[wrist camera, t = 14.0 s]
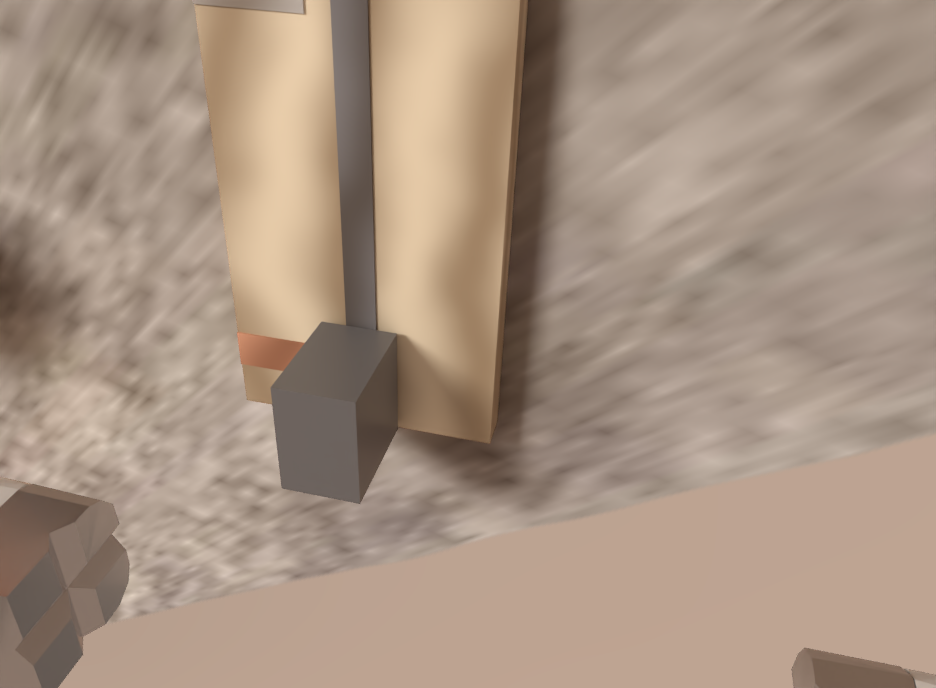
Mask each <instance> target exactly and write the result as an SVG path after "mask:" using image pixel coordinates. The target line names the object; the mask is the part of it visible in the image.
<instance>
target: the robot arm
mask: <svg viewBox="0 0 936 688" xmlns="http://www.w3.org/2000/svg"><path fill="white" fill-rule="evenodd" d="M118 525H119V521H118V518H117V515H116V512H115V509H114V506H113V504H111V503H108V502H104V501H101V500H97V499H93V498H89V497H85V496H81V495H76V494H72V493H68V492H64V491H60V490H56V489H52V488H47V487H43V486H39V485H35V484H30V483H25V482H21V481H16V480H12V479H8V478H3V477H0V688H58V687H59V686H60V684H61V683H62V682H63V680H64V679H65V678H66V676H67V675H68V674H69V672H70V671H71V670H72V668H73V667H74V665H75V664H76V663H77V662H78V660H79V659H80V658H81V656H82V655H83V636H85V635H87V634H89V633H90V632H92V631H94V630H96V629H98V628H100V627H102V626H103V625H105V624H106V623H107V622H108V620H109V619H110V618H111V616H112V615H113V613H114V612H115V611H116V609H117V608H118V606H119V605H120V602H121V600H122V597H123V595H124V592H125V589H126V587H127V584H128V581H129V560H128V556H127V552H126V549H125V548H124V547H123V546H122V545H121V544H120V543H119V542H118V541H117V539H116V538H115V537H114V536H113V535H112V533H113V532H114V530H115V529H116V528H117V526H118ZM792 677H793V686H794V688H936V675H934V674H929V673H925V672H919V671H915V670H910V669H903V668H901V667H899V666H894V665H889V664H884V663H879V662H874V661H869V660H864V659H859V658H854V657H849V656H844V655H839V654H834V653H828V652H824V651H819V650H814V649H809V648H804V649H803V650H802V651H801V652H800V653H799V654H798V655H797V657H796V660H795V662H794V665H793V667H792Z"/></svg>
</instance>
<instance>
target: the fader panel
mask: <svg viewBox="0 0 936 688" xmlns="http://www.w3.org/2000/svg"><path fill="white" fill-rule="evenodd" d="M193 4H194V5H195V12H196V20H197V27H198V35H199V43H200V50H201V58H202V65H203V73H204V80H205V88H206V95H207V103H208V110H209V118H210V125H211V133H212V140H213V148H214V155H215V163H216V170H217V178H218V185H219V193H220V201H221V208H222V216H223V223H224V231H225V238H226V246H227V253H228V261H229V268H230V276H231V283H232V291H233V298H234V306H235V313H236V321H237V328H238V332H237V336H238V343H239V351H240V358H241V364H242V366H243V374H244V381H245V389H246V396H247V400H250V401H256V402H262V403H267V404H272V397H271V388H270V387H271V386H272V385H273V384H274V382H275V381H276V380H277V378H278V377H279V376H280V375H281V373H282V372H283V371H284V369H285V368H286V367H287V365H288V364H289V363H290V362H291V360H292V359H293V358H294V356H295V355H296V354H297V352H298V351H299V350H300V349H301V347H302V346H303V345H304V343H305V342H306V341H307V340H308V338H309V337H310V336H311V334H312V333H313V332H314V330H315V329H316V328H317V327H318V325H319V324H320V323H321V322H328V323H334V324H340V325H346V326H353V327H359V328H365V329H372V330H378V331H384V332H390V333H397V394H398V427H400V428H406V429H411V430H417V431H422V432H428V433H433V434H439V435H444V436H450V437H455V438H461V439H466V440H472V441H478V442H483V443H489V444H490V442H491V439H492V436H493V433H494V430H495V427H496V424H497V421H498V407H499V393H500V380H501V366H502V352H503V339H504V325H505V311H506V297H507V284H508V270H509V256H510V243H511V229H512V215H513V202H514V188H515V174H516V161H517V147H518V133H519V120H520V106H521V92H522V79H523V65H524V51H525V38H526V24H527V10H528V0H193Z"/></svg>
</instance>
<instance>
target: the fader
mask: <svg viewBox="0 0 936 688" xmlns="http://www.w3.org/2000/svg"><path fill="white" fill-rule="evenodd" d="M270 388H271V397H272V406H273V415H274V424H275V433H276V442H277V450H278V459H279V468H280V477H281V486H282V488H283V489H288V490H293V491H298V492H303V493H308V494H313V495H318V496H323V497H328V498H333V499H338V500H343V501H348V502H353V503H358V504H360V503H361V501H362V499H363V497H364V495H365V493H366V491H367V489H368V487H369V485H370V483H371V481H372V479H373V477H374V475H375V473H376V471H377V469H378V467H379V465H380V463H381V461H382V459H383V457H384V455H385V453H386V451H387V449H388V447H389V445H390V443H391V441H392V439H393V437H394V435H395V433H396V431H397V429H398V394H397V333H390V332H384V331H378V330H372V329H365V328H359V327H353V326H346V325H340V324H334V323H328V322H321V323H320V324H319V325H318V327H317V328H316V329H315V330H314V332H313V333H312V334H311V336H310V337H309V338H308V340H307V341H306V342H305V343H304V345H303V346H302V347H301V349H300V350H299V351H298V352H297V354H296V355H295V356H294V358H293V359H292V360H291V362H290V363H289V364H288V365H287V367H286V368H285V369H284V371H283V372H282V373H281V375H280V376H279V377H278V378H277V380H276V381H275V382H274V384H273V385H272V386H271V387H270Z"/></svg>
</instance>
